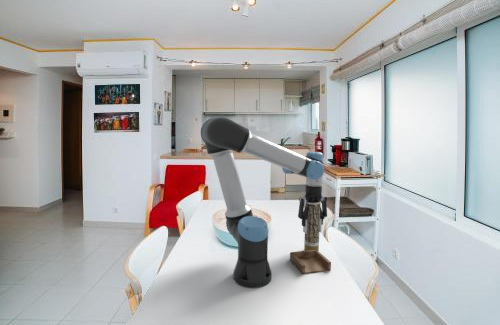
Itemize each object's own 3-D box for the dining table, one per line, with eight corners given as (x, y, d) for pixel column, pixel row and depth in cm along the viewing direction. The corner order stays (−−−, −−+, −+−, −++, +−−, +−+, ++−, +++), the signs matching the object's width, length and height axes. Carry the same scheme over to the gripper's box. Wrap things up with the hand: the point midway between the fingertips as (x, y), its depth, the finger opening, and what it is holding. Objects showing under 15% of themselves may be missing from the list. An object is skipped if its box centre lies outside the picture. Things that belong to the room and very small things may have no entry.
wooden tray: (302, 274, 116) (302, 265, 116) (289, 259, 128) (290, 252, 128) (330, 270, 119) (331, 262, 119) (315, 256, 132) (316, 249, 131)
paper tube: (318, 255, 133) (320, 203, 130) (304, 254, 135) (305, 202, 132) (318, 249, 140) (320, 200, 137) (304, 248, 141) (305, 199, 138)
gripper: (297, 187, 127) (296, 236, 130) (336, 185, 132) (334, 232, 135) (291, 184, 134) (289, 230, 137) (328, 182, 139) (326, 227, 142)
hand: (312, 231), depth 136 cm, fingers closed on paper tube, 7 cm apart
